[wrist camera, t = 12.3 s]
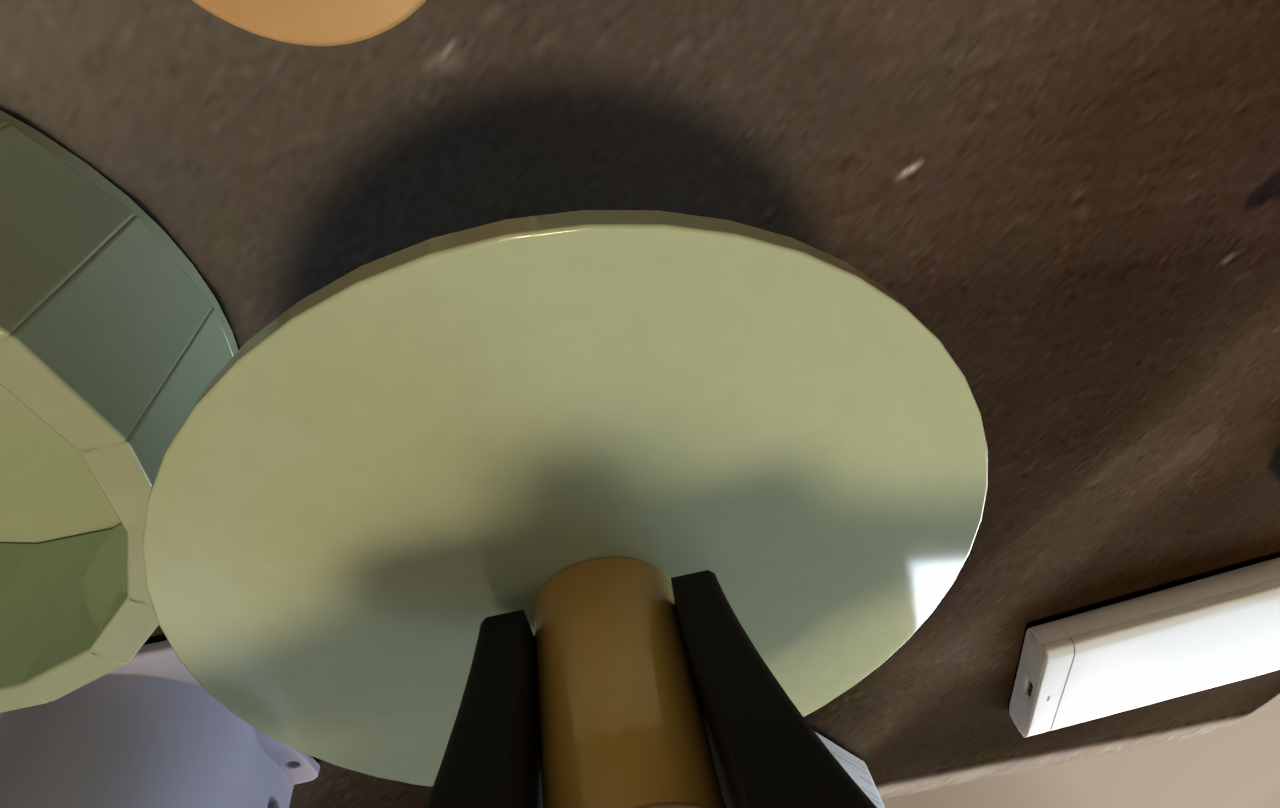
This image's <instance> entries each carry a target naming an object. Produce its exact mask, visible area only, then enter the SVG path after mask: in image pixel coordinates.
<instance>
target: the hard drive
mask: <svg viewBox="0 0 1280 808" xmlns="http://www.w3.org/2000/svg"><path fill="white" fill-rule="evenodd" d="M1279 669H1280V557H1278V558H1275V559H1271V560H1267V561H1264V562H1260V563H1257V564H1253V565H1250V566H1246V567H1243V568H1239V569H1236V570H1232V571H1228V572H1225V573H1221V574H1218V575H1214V576H1210V577H1207V578H1203V579H1200V580H1196V581H1193V582H1189V583H1186V584H1182V585H1179V586H1175V587H1172V588H1168V589H1165V590H1161V591H1158V592H1154V593H1151V594H1147V595H1144V596H1140V597H1137V598H1133V599H1130V600H1126V601H1123V602H1119V603H1116V604H1112V605H1108V606H1105V607H1101V608H1098V609H1094V610H1091V611H1087V612H1084V613H1080V614H1077V615H1073V616H1070V617H1066V618H1063V619H1059V620H1056V621H1052V622H1048V623H1044V624H1041V625H1037V626H1033V627H1030V628H1029V629H1027V631H1026V635H1025V640H1024V644H1023V648H1022V652H1021V658H1020V662H1019V667H1018V671H1017V676H1016V680H1015V684H1014V688H1013V693H1012V697H1011V701H1010V706H1009V713H1010V717H1011V718H1012V720H1013V722H1014V723H1015V725H1016V727H1017V728H1018V730H1019V732H1020V733H1021V734H1022V736H1023V737H1029V736H1032V735H1036V734H1040V733H1044V732H1047V731H1052V730H1055V729H1059V728H1063V727H1067V726H1070V725H1074V724H1078V723H1082V722H1085V721H1089V720H1093V719H1097V718H1101V717H1105V716H1109V715H1112V714H1116V713H1120V712H1124V711H1128V710H1131V709H1135V708H1139V707H1143V706H1146V705H1150V704H1154V703H1157V702H1161V701H1164V700H1168V699H1172V698H1176V697H1179V696H1183V695H1186V694H1190V693H1194V692H1198V691H1202V690H1206V689H1209V688H1213V687H1217V686H1221V685H1224V684H1228V683H1232V682H1236V681H1240V680H1243V679H1247V678H1251V677H1255V676H1259V675H1262V674H1266V673H1269V672H1273V671H1276V670H1279Z"/></svg>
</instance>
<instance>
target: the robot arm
mask: <svg viewBox="0 0 1280 808" xmlns="http://www.w3.org/2000/svg"><path fill="white" fill-rule="evenodd" d="M671 582H672V589H673V595H674V601H675V607H676V611H677V615H678V619H679V623H680V627H681V632H682V636H683V640H684V644H685V648H686V652H687V656H688V660H689V664H690V667H691V670H692V673H693V677H694V680H695V684H696V688H697V692H698V696H699V700H700V704H701V708H702V712H703V716H704V720H705V725H706V729H707V733H708V737H709V741H710V745H711V749H712V753H713V757H714V762H715V766H716V770H717V774H718V778H719V782H720V786H721V790H722V794H723V797H724V800H725V803H726V806H727V808H877V807H876V806H875V805H874V803H873V802H872V801H871V800H870V799H869V798H868V796H867V795H866V794H865V793H864V792H863V791H862V789H861V788H860V787H859V786H858V785H857V784H856V783H855V781H854V780H853V779H852V778H851V777H850V775H849V774H848V773H847V772H846V771H845V769H844V768H843V767H842V766H841V764H840V763H839V762H838V761H837V760H836V758H835V757H834V756H833V755H832V753H831V752H830V751H829V750H828V748H827V747H826V746H825V744H824V743H823V742H822V741H821V739H820V738H819V737H818V735H817V734H816V733H815V732H814V730H813V729H812V728H811V726H810V725H809V724H808V722H807V721H806V720H805V719H804V717H803V716H802V714H801V713H800V712H799V710H798V709H797V708H796V706H795V705H794V704H793V702H792V701H791V700H790V698H789V697H788V695H787V694H786V692H785V691H784V689H783V688H782V687H781V685H780V684H779V682H778V681H777V679H776V678H775V676H774V675H773V674H772V672H771V671H770V669H769V668H768V666H767V665H766V663H765V662H764V660H763V659H762V657H761V656H760V654H759V653H758V651H757V650H756V648H755V647H754V645H753V643H752V642H751V640H750V638H749V637H748V635H747V634H746V632H745V630H744V629H743V627H742V625H741V624H740V622H739V620H738V618H737V617H736V615H735V613H734V611H733V610H732V608H731V606H730V604H729V602H728V600H727V598H726V596H725V594H724V592H723V590H722V588H721V586H720V584H719V582H718V580H717V577H716V575H715V573H713V572H711V571H709V570H705V571H700V572H696V573H691V574H686V575H682V576H677V577H672V578H671ZM319 769H320V766H319V764H318V763H317V762H316V761H315V760H314V759H313V757H312V756H310V755H307V754H304V753H302V752H300V751H298V750H296V749H294V748H292V747H290V746H288V745H286V744H284V743H282V742H280V741H278V740H275V739H273V738H271V737H269V736H267V735H266V734H264V733H262V732H261V731H259V730H258V729H256V728H255V727H253V726H252V725H250V724H249V723H247V722H246V721H244V720H243V719H241V718H239V717H238V716H236V715H235V714H233V713H232V712H231V711H230V710H229V709H227V708H226V707H225V706H224V705H223V704H222V703H220V702H219V701H218V700H217V699H216V698H215V697H213V696H212V695H211V694H210V693H209V692H208V691H207V690H205V689H204V688H203V687H202V686H201V684H200V683H199V682H198V681H197V680H196V679H195V677H194V676H193V675H192V674H191V673H190V671H189V670H188V669H187V668H186V667H185V666H184V664H183V663H182V662H181V661H180V660H179V659H178V657H177V655H176V653H175V652H174V650H173V648H172V647H171V645H170V643H169V641H168V640H165V641H160V642H155V643H150V644H146V645H143V646H142V647H141V648H140V650H139V651H138V652H137V653H136V655H135V656H134V657H133V658H132V660H131V661H130V662H129V663H126V664H125V665H123V666H121V667H120V668H118V669H116V670H114V671H112V672H110V673H108V674H106V675H104V676H102V677H100V678H98V679H96V680H94V681H92V682H90V683H88V684H86V685H84V686H82V687H80V688H78V689H76V690H75V691H73V692H71V693H69V694H67V695H65V696H63V697H61V698H59V699H57V700H55V701H50V702H48V703H46V704H42V705H37V706H32V707H28V708H23V709H18V710H13V711H9V712H4V713H0V808H289V805H290V800H291V796H292V791H293V787H294V785H295V784H299V783H304V782H308V781H312V780H314V779H315V778H317V776H318V774H319ZM425 808H543V805H542V784H541V764H540V743H539V723H538V702H537V681H536V661H535V640H534V635H533V632H532V630H531V627H530V625H529V622H528V619H527V617H526V614H525V612H524V609H523V610H519V611H514V612H509V613H505V614H500V615H495V616H491V617H486V618H485V619H484V620H483V621H482V623H481V625H480V630H479V635H478V640H477V644H476V648H475V652H474V657H473V661H472V665H471V668H470V672H469V676H468V679H467V683H466V687H465V690H464V693H463V697H462V700H461V704H460V707H459V710H458V714H457V717H456V720H455V723H454V726H453V729H452V732H451V735H450V738H449V741H448V744H447V747H446V750H445V753H444V756H443V759H442V762H441V765H440V768H439V771H438V774H437V777H436V779H435V782H434V784H433V787H432V790H431V792H430V795H429V798H428V800H427V803H426V805H425Z"/></svg>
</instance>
